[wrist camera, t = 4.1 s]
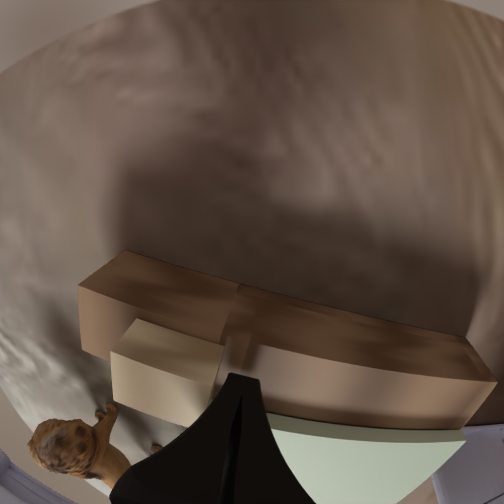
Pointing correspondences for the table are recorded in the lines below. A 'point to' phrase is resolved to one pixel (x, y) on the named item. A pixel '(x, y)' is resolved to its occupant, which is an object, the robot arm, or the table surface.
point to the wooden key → (164, 372)
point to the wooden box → (293, 347)
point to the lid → (360, 459)
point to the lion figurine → (80, 448)
